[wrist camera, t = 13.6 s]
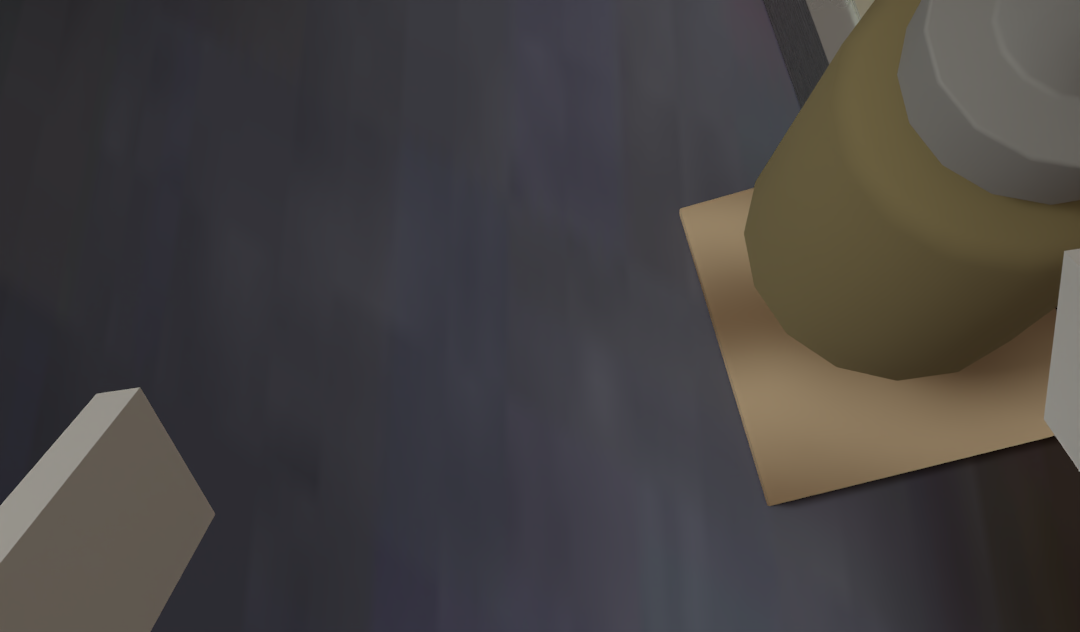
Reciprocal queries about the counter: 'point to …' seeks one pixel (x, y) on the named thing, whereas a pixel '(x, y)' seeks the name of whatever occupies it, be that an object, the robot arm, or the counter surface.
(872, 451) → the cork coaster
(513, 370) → the counter surface
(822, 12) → the grey box with panels
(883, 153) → the squeeze bottle
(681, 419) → the counter surface
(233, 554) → the counter surface
